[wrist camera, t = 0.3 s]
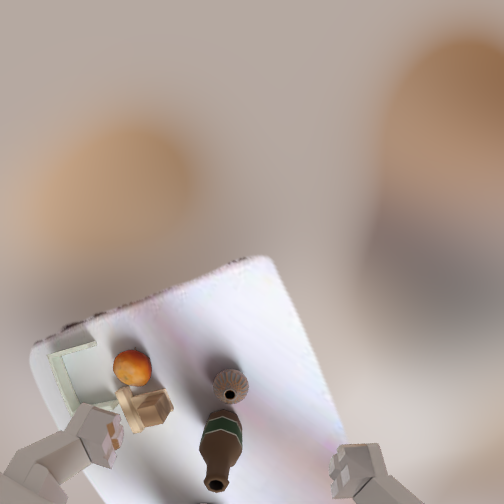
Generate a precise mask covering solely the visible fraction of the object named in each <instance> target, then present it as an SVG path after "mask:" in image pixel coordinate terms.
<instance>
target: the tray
mask: <svg viewBox="0 0 504 504" xmlns="http://www.w3.org/2000/svg"><path fill="white" fill-rule="evenodd" d="M96 345H97V343H96V341H93V342H90V343H86V344H83V345H79V346H76V347H72V348H69V349H65V350H62V351H58V352H55V353H51V354H48V355H47V358H48V360H49V363H50V366H51V369H52V372H53V374H54V377H55V380H56V382H57V385H58V387H59V390H60V392H61V395H62V397H63V400H64V402H65V404H66V407H67V409H68V411H69V413H70V416H71V417H73V415H74V413H75V412H76V410H77V408H78V407H79V405H80V403H79V401H78V398H77V396H76V393H75V391H74V389H73V386H72V384H71V381H70V378H69V376H68V373H67V370H66V368H65V365H64V362H63V359H62V355H66V354H69V353H73V352H77V351H80V350H84V349H87V348H90V347H93V346H96ZM118 404H119V401H118V399H117V400H112V401H107V402H102V403H97V404H92V405H93V406H96V407H98V408H101V409H104V410H107V411H109V410H113V409H114V408H115V407H116V406H117V405H118Z"/></svg>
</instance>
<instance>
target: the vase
mask: <svg viewBox="0 0 504 504" xmlns="http://www.w3.org/2000/svg"><path fill="white" fill-rule="evenodd" d="M248 388H249V385H248V381H247V378H246V377H245V375H244V374H243V373H241V372H240V371H238V370H235V369H226V370H223V371H221V372H220V373H219V374H218V375H217V376H216V378H215V379H214V382H213V390H214V393H215V395H216V397H217V398H218V399H219V400H220V401H222V402H224V403H227V404H235V403H238V402H240V401H242V400H243V399H244V398H245V396H246V395H247V393H248Z"/></svg>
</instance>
